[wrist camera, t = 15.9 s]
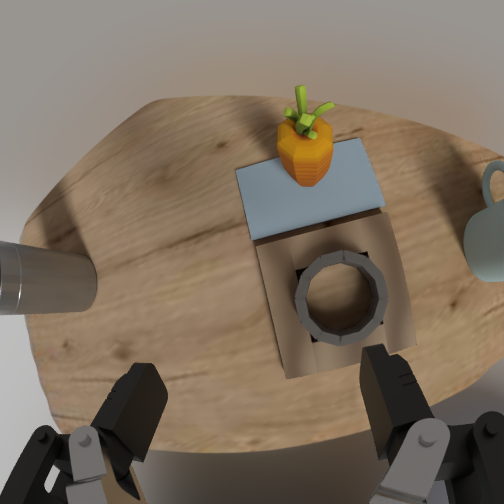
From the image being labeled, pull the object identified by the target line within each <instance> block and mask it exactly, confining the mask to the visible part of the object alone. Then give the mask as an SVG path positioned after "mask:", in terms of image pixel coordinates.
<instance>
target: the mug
mask: <svg viewBox="0 0 504 504" xmlns="http://www.w3.org/2000/svg"><path fill="white" fill-rule="evenodd" d="M496 170H500V171H502V172H503V173H504V162H502V161H493V162H491V163H489V165H488V166H487V167H486V169H485V171H484V173H483V178H482V193H483V197H484V201H485V204H486V206H487V208H485V209H483V210H481V211H479V212H477V213H476V214H474V215H473V216H472V217H471V218H470V220H469V221H468V223H467V225H466V228H465V232H464V240H463V245H464V253H465V257H466V261H467V263H468V266H469V267H470V269H471V271H472V272H473V274H474V275H475V276H476V277H477V278H479V279H480V280H482V281H485V282H500V281H504V199H503V200H501V201H499V202H497V203H495V204H494V203H493V201H492V198H491V194H490V179H491V176H492V174H493V173H494V171H496Z"/></svg>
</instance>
